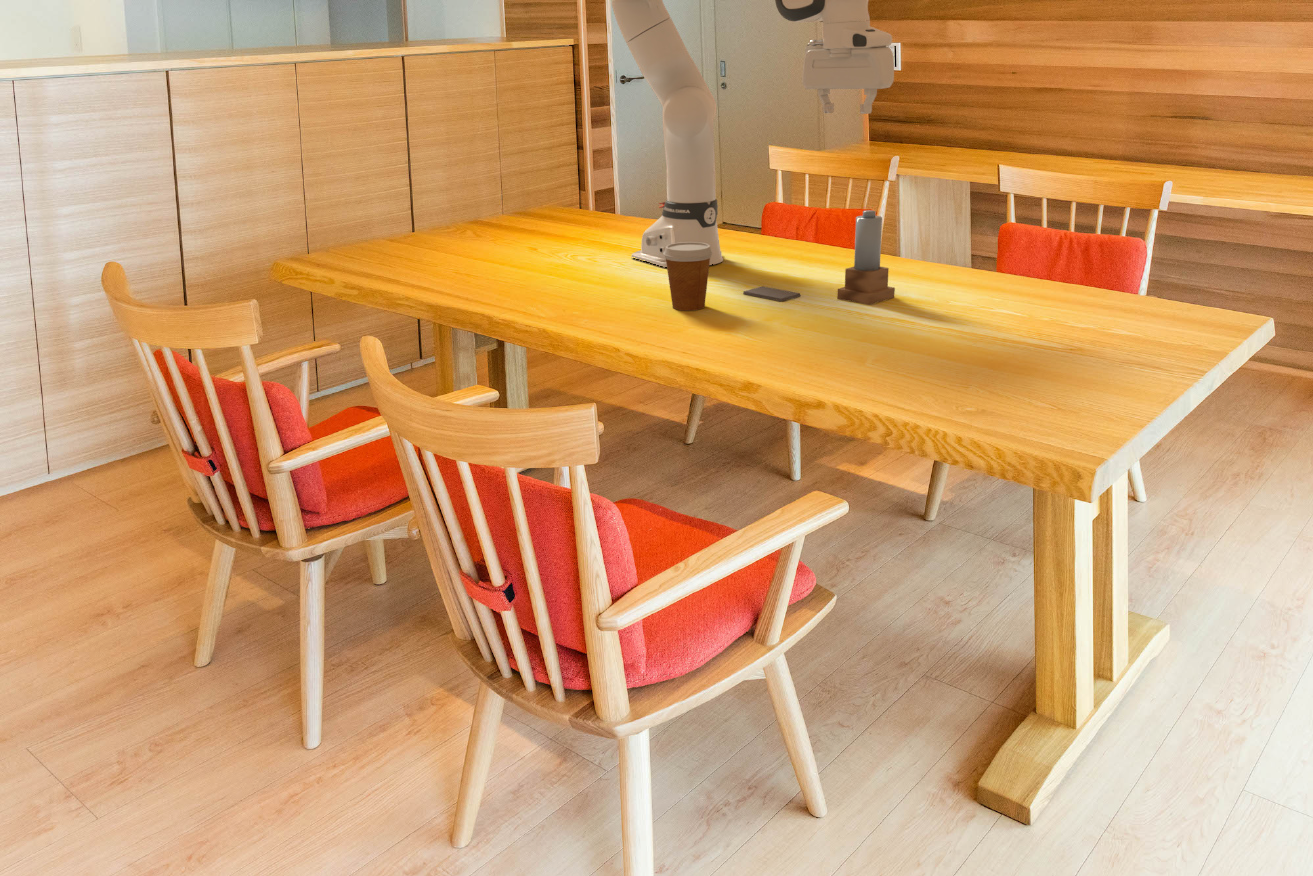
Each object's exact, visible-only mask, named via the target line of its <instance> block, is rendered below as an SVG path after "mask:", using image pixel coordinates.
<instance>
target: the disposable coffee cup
mask: <svg viewBox="0 0 1313 876" xmlns="http://www.w3.org/2000/svg"><path fill="white" fill-rule="evenodd" d="M663 254H664V256H665V259H666V264H667V268H666V270H667V276H668V277H667V278H668V282H669V283H668V284H669V290H670V297H671V303H672V309H674V310H677V311H683V312H687V311H688V312H689V311H698V310H702V309H704V308H705V305H706V297H707V289H708V281H709V280H708V279H709V273H710V272H709V271H710V265H709V263H710V258H711V255H712V251H711V248H710V245H708V244H706V243H699V242H680V243H673V244H669V245H667V246H666V248H665V252H664V253H663Z"/></svg>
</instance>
